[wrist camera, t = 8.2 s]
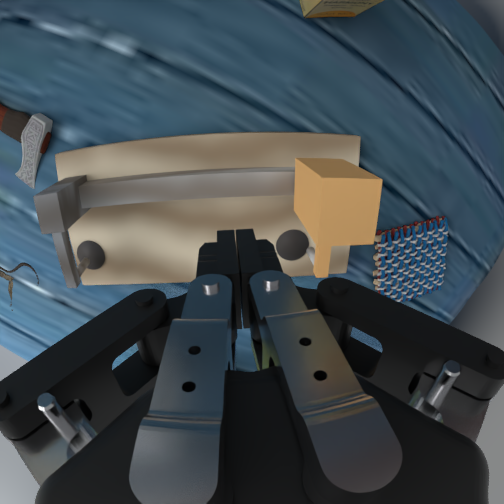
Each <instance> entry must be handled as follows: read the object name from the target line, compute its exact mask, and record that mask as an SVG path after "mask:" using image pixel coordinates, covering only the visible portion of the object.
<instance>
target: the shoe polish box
mask: <svg viewBox="0 0 504 504" xmlns="http://www.w3.org/2000/svg"><path fill="white" fill-rule="evenodd" d="M299 1H300V4H301V8H302V12H303V15H304V18H316V17H355V16H356V15H358V14H360V13H362V12H363V11H365V10H367V9H369V8H371V7H372V6H374V5H376V4H378V3H380V2H382V1H384V0H299Z"/></svg>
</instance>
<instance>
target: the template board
mask: <svg viewBox="0 0 504 504" xmlns="http://www.w3.org/2000/svg"><path fill="white" fill-rule="evenodd" d="M359 154H360V136H356V135H346V134H330V133H309V132H230V133H208V134H192V135H179V136H168V137H158V138H149V139H140V140H132V141H124V142H117V143H111V144H104V145H98V146H92V147H86V148H81V149H75V150H70V151H65V152H60V153H58V154H55V160H56V167H57V174H58V180H59V182H57V183H55V184H53V185H52V186H50V187H48V188H46V189H45V190H43V191H41V192H40V193H38V194H36V195H35V196H33V197H34V202H35V207H36V211H37V216H38V220H39V224H40V228H41V232H42V234H49V233H52V236H53V240H54V244H55V248H56V251H57V255H58V258H59V262H60V265H61V269H62V272H63V275H64V278H65V281H66V284H67V287H68V288H77V287H78V285H79V284H80V282H81V281H80V277H81V280H82V283H83V285H111V284H146V283H175V282H192V281H193V280H194V279H195V278H196V271H197V262H198V254H199V248H200V247H201V246H202V245H203V244H204V243H208V242H217V230H234V232H235V240H236V229H251V228H253V230H254V234H255V238H256V240H259V239H267V240H268V241H270V242H271V243H272V244H273V245H274V247H275V250H276V253H277V256H278V259H279V261H280V264H281V267H282V270H283V273H285V274H287V275H289V276H290V277H293V276H308V275H315V274H314V272H313V268H314V265H313V263H312V262H311V260H310V258H309V256H308V254H307V252H306V250H307V248H308V247H314V249H315V247H316V244H315V243H314V241H313V239H312V238H311V236H310V235H309V233H308V232H307V230H306V228H305V227H304V225H303V224H302V222H301V221H300V219H299V218H298V216H297V215H296V213H295V211H294V188H295V158H330V159H344V160H346V161H348V162H350V163H352V164H354V165H356V166H358V167H359ZM67 230H68V231H69V235H70V239H71V243H72V247H73V251H74V255H75V259H76V262H77V267H76V264H75V260H74V256H73V252H72V249H71V245H70V241H69V237H68V232H67ZM349 250H350V245H345V246H331V255H330V263H329V271H328V274H337V273H346V271H347V264H348V257H349Z"/></svg>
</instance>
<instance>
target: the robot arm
mask: <svg viewBox="0 0 504 504" xmlns="http://www.w3.org/2000/svg"><path fill="white" fill-rule="evenodd" d="M241 309H242V318H243V326H244V328H250V331H251V346H252V350H253V354H254V358H255V362H256V366H257V370H258V371H255V372H242V371H236V339H237V329H242V321H241ZM352 327H355V328H356V329H358V330H360V331H362V332H364V333H366V334H368V335H370V336H372V337H374V338H376V339H377V340H378V341H379V342H380V343H381V345H382V348H383V351H382V353H381V352H379V351H377V350H375V349H373V348H372V347H370V346H368V345H366V344H364V343H362V342H360V341H358V340H356V339H354V338H353V337H351V336H350V335H351V331H352ZM135 343H136V344H137V347H138V349H139V350H138V351H137V352H135V353H134V354H133V355H132V356H130V357H129V358H128V359H126V360H125V361H124V362H122V363H121V364H120V365H119V366H117V367H116V368H115V369H113V370H112V364H113V362H114V360H115V359H116V358H117V357H118V356H119V355H121V354H122V353H123V352H125V351H126V350H127V349H129V348H130V347H131V346H133V345H134V344H135ZM503 384H504V351H502V350H501V349H500V348H498V347H496V346H494V345H491V344H489V343H487V342H485V341H483V340H481V339H479V338H476V337H474V336H472V335H470V334H468V333H466V332H463V331H461V330H459V329H457V328H455V327H452V326H450V325H448V324H446V323H444V322H442V321H439V320H437V319H435V318H433V317H431V316H428V315H426V314H424V313H422V312H420V311H417V310H415V309H413V308H411V307H408V306H406V305H404V304H402V303H400V302H397V301H395V300H393V299H391V298H388V297H386V296H384V295H382V294H379V293H377V292H375V291H373V290H370V289H368V288H366V287H364V286H361V285H359V284H357V283H355V282H352V281H350V280H348V279H344V278H338V277H333V278H327V279H324V280H322V281H321V282H320V283H319V284H318V287H317V290H316V289H307V288H302V287H298V286H295V284H294V283H293V281H292V279H291V277H290V276H289V275H287V274H285V273H283V270H282V267H281V264H280V261H279V259H278V256H277V253H276V250H275V247H274V245H273V244H272V243H271V242H270V241H268V240H267V239H259V240H256V238H255V234H254V230H253V228H251V229H236V240H235V232H234V230H217V242H208V243H204V244H203V245H202V246H201V247H200V248H199V254H198V262H197V271H196V278H195V279H194V280H193V281H192V282H191V283H190V285H189V288H188V292H187V293H185V294H183V295H181V296H178V297H174V298H170V299H167V298H166V295H165V294H164V293H163V292H162V291H160V290H157V289H143V290H139V291H136V292H134V293H132V294H131V295H129V296H127V297H126V298H124V299H123V300H121V301H120V302H118V303H117V304H115V305H113V306H112V307H110V308H109V309H107V310H106V311H104V312H103V313H101V314H99V315H98V316H96V317H95V318H93V319H92V320H90V321H89V322H87V323H86V324H84V325H83V326H81V327H80V328H78V329H77V330H75V331H74V332H72V333H71V334H69V335H68V336H66V337H64V338H63V339H61V340H60V341H59V342H57V343H56V344H54V345H53V346H51V347H50V348H48V349H47V350H45V351H44V352H42V353H41V354H39V355H38V356H36V357H35V358H33V359H32V360H30V361H29V362H28V363H26V364H25V365H23V366H22V367H20V368H19V369H17V370H16V371H14V372H13V373H12V374H10V375H9V376H8V377H6V378H4V379H3V380H2V381H0V431H1V433H2V434H3V435H4V437H5V438H6V439H7V440H9V441H10V442H11V443H12V444H13V445H14V446H15V448H16V449H17V451H18V453H19V455H20V456H21V458H22V460H23V461H24V463H25V465H26V466H27V468H28V469H29V471H30V472H31V474H32V475H33V477H34V478H35V480H36V481H37V483H38V484H39V485H40V489H39V491H38V493H37V496H36V499H35V504H488V485H489V469H488V464H487V460H486V458H485V456H484V453H483V452H482V450H481V449H480V448H479V446H478V445H477V444H476V443H475V442H476V440H477V437H478V435H479V432H480V429H481V427H482V424H483V421H484V418H485V415H486V412H487V409H488V405H489V403H490V402H491V400H492V399H493V398H494V396H495V395H496V394H497V392H498V391H499V389H500V388H501V387H502V385H503Z"/></svg>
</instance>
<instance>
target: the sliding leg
mask: <svg viewBox="0 0 504 504" xmlns="http://www.w3.org/2000/svg"><path fill="white" fill-rule="evenodd" d="M381 188H382V179H381V178H379V177H377V176H375V175H373V174H371V173H369V172H367V171H366V170H364V169H362V168H360V167H358V166H356V165H354V164H352V163H350V162H348V161H346V160H344V159H330V158H295V188H294V211H295V213H296V215H297V216H298V218H299V219H300V221H301V222H302V224H303V225H304V227H305V228H306V230H307V232H308V233H309V235H310V236H311V238H312V239H313V241H314V243H315V244H316V247H315V249H314V247H308V248H307V250H306V252H307V254H308V256H309V258H310V260H311V262H312V263H313V265H314V268H313V272H314V274H315V276H316V278H321V277H328V271H329V263H330V255H331V246H345V245H367V244H374V239H375V233H376V226H377V219H378V212H379V205H380V197H381Z"/></svg>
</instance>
